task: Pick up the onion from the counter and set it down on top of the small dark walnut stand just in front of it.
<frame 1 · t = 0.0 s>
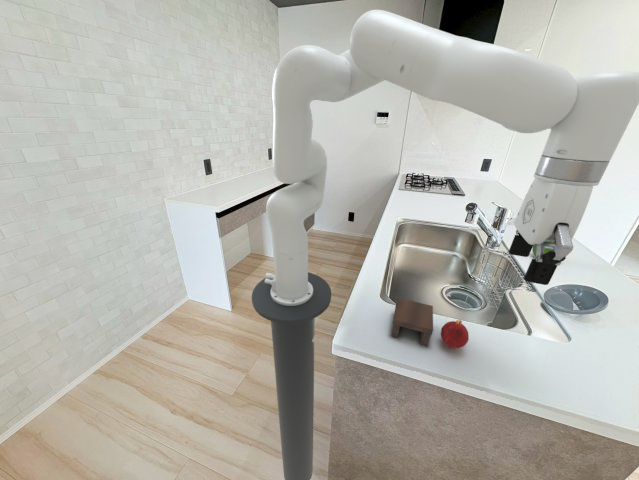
hand: (525, 267, 46), 26 cm above the countertop, tool pointing down, fingers open, 9 cm apart
stand: (409, 328, 67), on the countertop
onion: (450, 346, 62), on the countertop
avocado: (540, 258, 102), on the countertop
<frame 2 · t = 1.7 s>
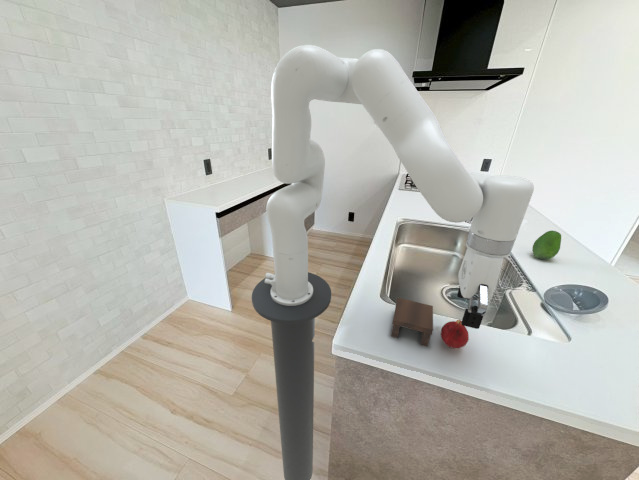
hand: (466, 311, 57), 11 cm above the countertop, tool pointing down, fingers open, 9 cm apart
nothing on the countertop moved.
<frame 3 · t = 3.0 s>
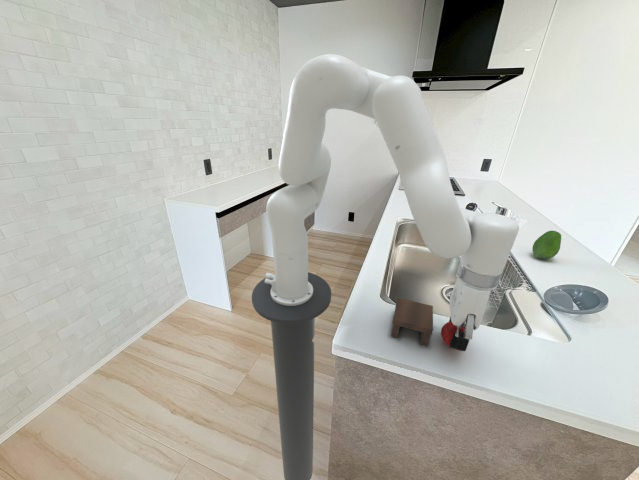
hand: (456, 337, 61), 3 cm above the countertop, tool pointing down, fingers closed on onion, 5 cm apart
onion: (450, 346, 62), on the countertop, touching gripper
everything else where it was.
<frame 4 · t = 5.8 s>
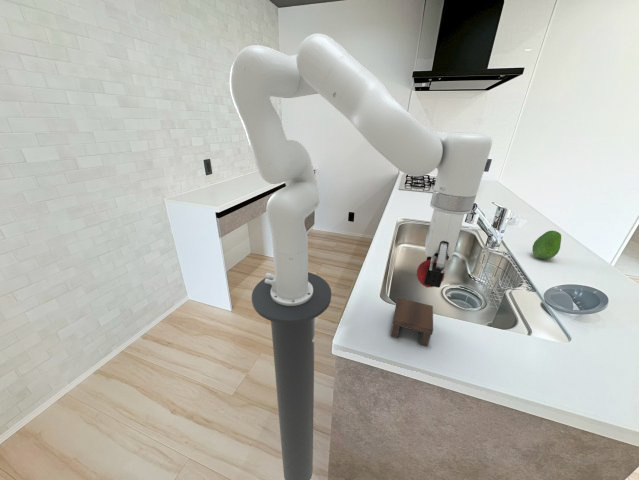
hand: (431, 276, 58), 17 cm above the countertop, tool pointing down, fingers closed on onion, 5 cm apart
onion: (426, 287, 60), point 14 cm above the countertop, touching gripper
everything else where it was.
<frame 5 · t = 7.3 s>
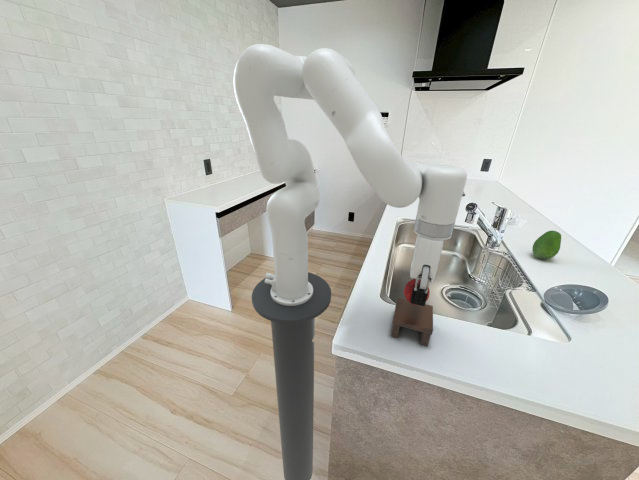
hand: (418, 294, 62), 11 cm above the countertop, tool pointing down, fingers closed on onion, 5 cm apart
onion: (413, 304, 64), point 8 cm above the countertop, touching gripper
everything else where it was.
when the fingers open (9 cm above the countertop, at t = 8.5 s): onion stays where it is, resting on stand.
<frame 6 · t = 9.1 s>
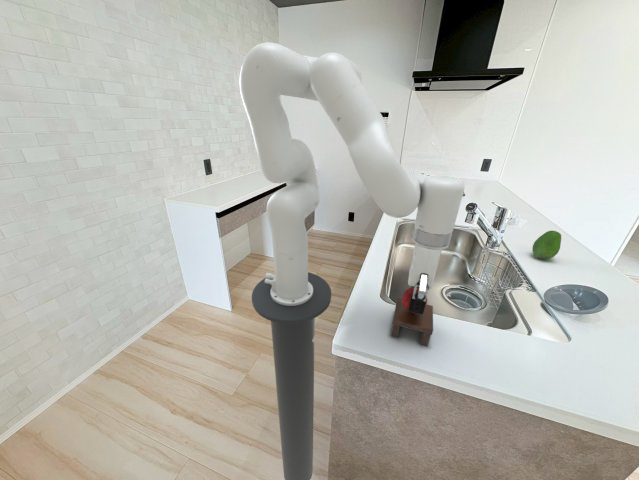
hand: (416, 299, 63), 10 cm above the countertop, tool pointing down, fingers open, 9 cm apart
onion: (411, 312, 65), point 5 cm above the countertop, touching stand
everything else where it was.
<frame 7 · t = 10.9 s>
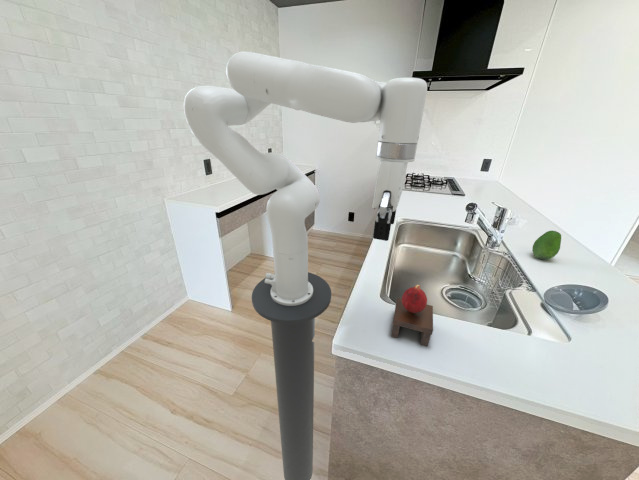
hand: (384, 230, 59), 26 cm above the countertop, tool pointing down, fingers open, 9 cm apart
nothing on the countertop moved.
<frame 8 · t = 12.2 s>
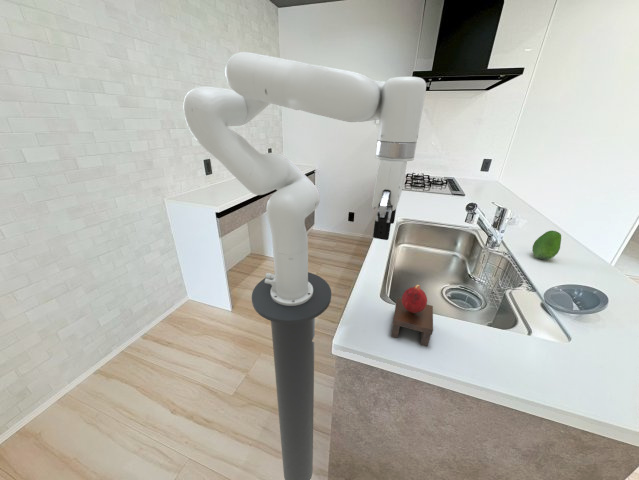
hand: (384, 229, 59), 26 cm above the countertop, tool pointing down, fingers open, 9 cm apart
nothing on the countertop moved.
at the end: onion inside the target area on the stand (0.5 cm from its centre), point 5.3 cm above the stand's base; onion touching stand; the gripper is holding nothing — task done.
